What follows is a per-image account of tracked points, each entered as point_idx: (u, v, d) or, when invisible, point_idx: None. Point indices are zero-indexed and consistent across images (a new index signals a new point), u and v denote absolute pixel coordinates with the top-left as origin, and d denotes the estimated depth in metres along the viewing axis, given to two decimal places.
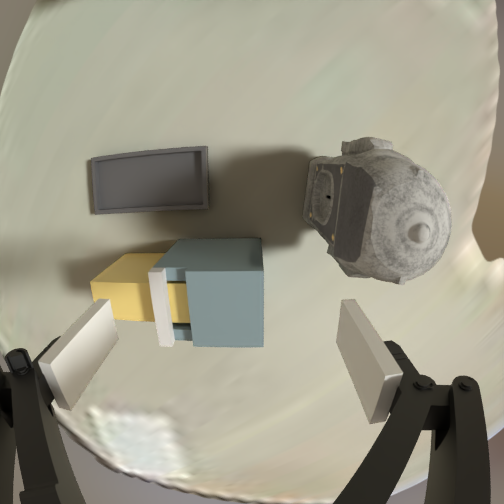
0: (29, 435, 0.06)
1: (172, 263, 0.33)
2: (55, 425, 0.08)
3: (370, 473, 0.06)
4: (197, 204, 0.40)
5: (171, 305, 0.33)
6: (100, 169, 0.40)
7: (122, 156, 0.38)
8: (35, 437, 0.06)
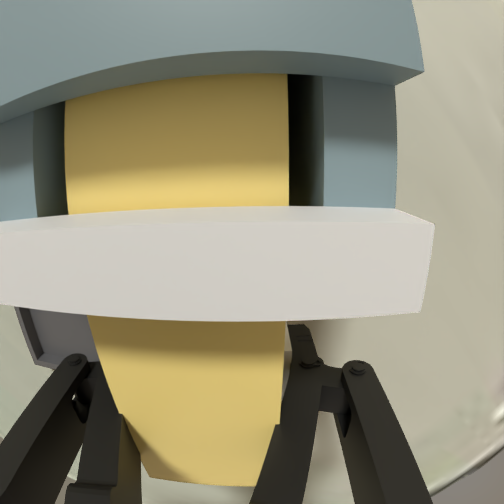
0: (102, 428, 0.07)
1: None
2: None
3: (280, 453, 0.07)
4: None
5: (176, 204, 0.06)
6: (52, 352, 0.21)
7: (18, 311, 0.18)
8: (108, 431, 0.07)
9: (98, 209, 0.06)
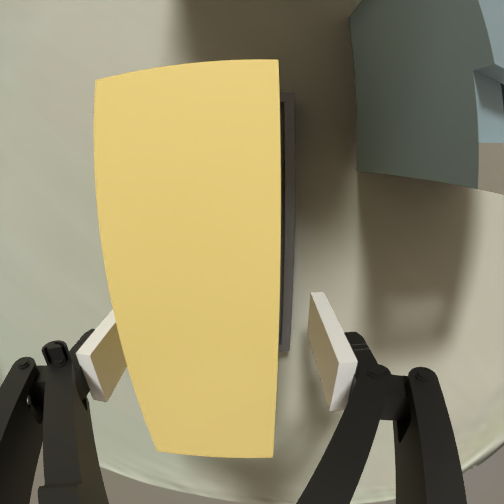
0: (58, 430, 0.06)
1: (454, 130, 0.08)
2: (88, 420, 0.09)
3: (334, 463, 0.06)
4: (284, 115, 0.17)
5: (190, 194, 0.07)
6: None
7: None
8: (64, 433, 0.06)
9: (123, 198, 0.07)
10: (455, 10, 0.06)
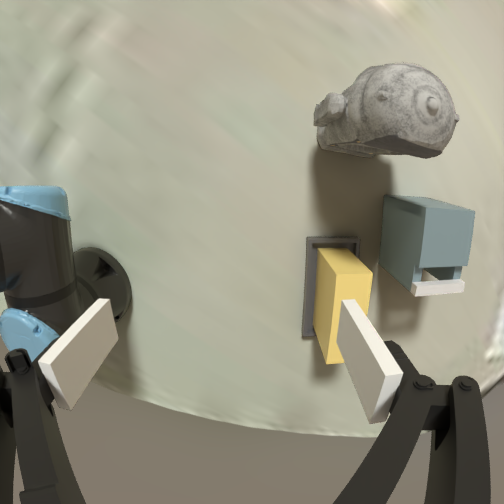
0: (29, 435, 0.06)
1: (408, 275, 0.38)
2: (55, 425, 0.08)
3: (370, 473, 0.06)
4: (355, 247, 0.47)
5: (353, 298, 0.38)
6: (312, 328, 0.52)
7: (307, 309, 0.50)
8: (35, 437, 0.06)
9: (340, 299, 0.38)
10: (416, 246, 0.36)
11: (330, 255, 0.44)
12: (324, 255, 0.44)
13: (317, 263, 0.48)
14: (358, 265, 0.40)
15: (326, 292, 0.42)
